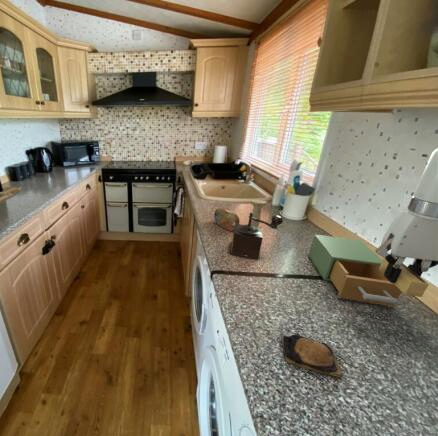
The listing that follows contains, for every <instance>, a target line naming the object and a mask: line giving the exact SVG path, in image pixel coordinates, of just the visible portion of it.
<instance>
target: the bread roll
mask: <svg viewBox="0 0 438 436" xmlns="http://www.w3.org/2000/svg"><path fill="white" fill-rule="evenodd" d="M280 339H281V344H282V347H283V350H282V352H283V355H284V358H285V362H286V363H288V364H289V365H293V366H295V367H296V366H297V367H300V368H302V369H306V370H311V371H313V372H314V373H320V374H325V375H329V376H333V377H337V378H341V377H342V375H343V374H342V371H341V368H340V365H339V363H338V360H337V358H336V354H335V353H334V350H333V348H332V347H331V346H329V345H328V344H327V343H326V342H323V341H322V342H319V341H317V340H314V339H312V338H309V337H305V336H302V335H301V334H299V333H295V334H292V335H281V338H280Z"/></svg>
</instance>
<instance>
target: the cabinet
mask: <svg viewBox="0 0 438 436" xmlns="http://www.w3.org/2000/svg"><path fill="white" fill-rule="evenodd" d="M308 257H309V259H310V260H311V262H312V264H313V265H314V266H315V268H316V269H317V271H318V273H319V274H320V276H321V277H322V280H323V281H325V282H326V281H327V282H332V281H331V279H330V278H329V273H330V270H331V267H332V265H333V262H334V259H335V260H343V261H350V262H358V263H365V264H372V265H381V263H382V260H383V258H381V256H380V255H379V254H377V253H376V252H374V251H373V250H372V248H370V247H369V246H368V245H366V243H365V242H363V241H362V240H361V239H358V238H357V239H356V238H349V237H348V238H347V237H340V236H331V235H321V234H314V236H313V239H312V243H311V246H310V248H309V253H308Z"/></svg>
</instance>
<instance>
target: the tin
mask: <svg viewBox="0 0 438 436" xmlns="http://www.w3.org/2000/svg"><path fill="white" fill-rule="evenodd" d="M213 217H214V221H215V223H216V224H217V225H218V226H220V227H222V228H223V229H226V230H227V231H234V227H235V224H240V222H241V221H240V217H239V216H238V214H237V213H235V212H233V211H231V210H228V209H226V208H218V209H216V210H215V211H214V215H213Z"/></svg>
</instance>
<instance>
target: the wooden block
mask: <svg viewBox="0 0 438 436" xmlns="http://www.w3.org/2000/svg"><path fill="white" fill-rule="evenodd" d="M395 260H396V259H395ZM387 266H388V262H387V260H386V259H385V258H384V257H382V263H381V265H380V267H379V270H380V271H381V272H382V273H383V274H384V272H385V270H386V268H387ZM400 269H401V270H402V271H401V273H400V275H399V277H398V279H397V281H396V283H394V284H395V285H396V286H397V287H398V288H399V289H400V290H401V291H402V292H401V293H402V294H403V295H406V296H411V297H412V296H413V297H419V298H422V297H423V296H424V295H425V292H426V291H427V289H428V286H429V285H430V283H429V282H427V281H426V280H425V279H423V278H422V276H421V277H420V276H418V275H417V274H416V273H414V272H413V271H412V270H411V269H409V268H408V265H406V264H405V263H404V262H403V263H402V265H401V266H400Z"/></svg>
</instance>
